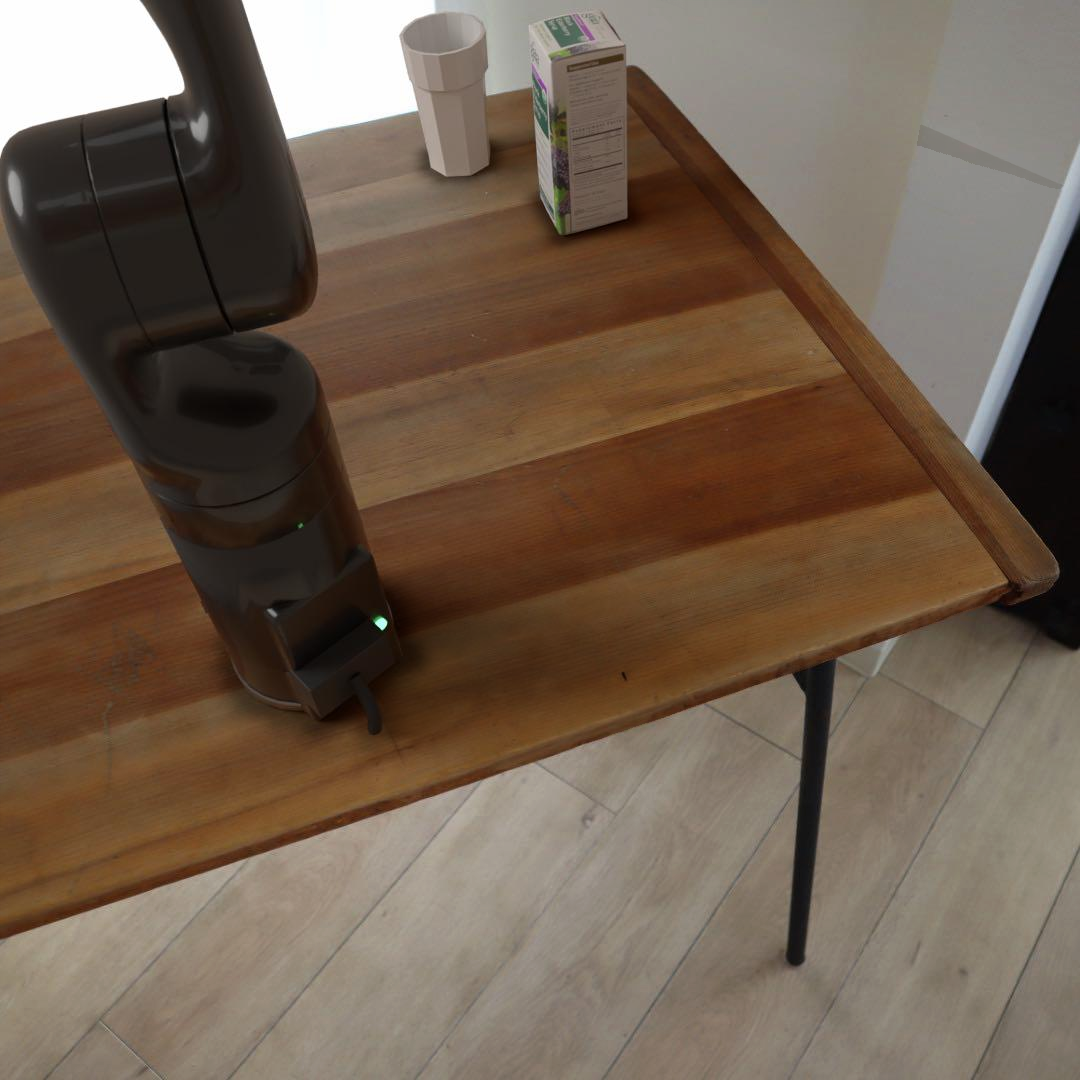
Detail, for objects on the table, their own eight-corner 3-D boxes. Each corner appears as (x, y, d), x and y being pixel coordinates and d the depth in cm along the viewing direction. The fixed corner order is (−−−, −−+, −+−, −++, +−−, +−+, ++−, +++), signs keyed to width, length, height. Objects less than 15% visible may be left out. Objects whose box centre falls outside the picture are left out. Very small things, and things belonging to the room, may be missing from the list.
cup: (411, 149, 100) (389, 24, 92) (485, 129, 101) (469, 3, 93) (435, 190, 96) (413, 63, 88) (510, 169, 97) (497, 41, 89)
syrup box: (538, 198, 94) (522, 22, 83) (607, 180, 95) (601, 4, 84) (560, 238, 91) (546, 60, 80) (632, 219, 92) (629, 41, 80)
